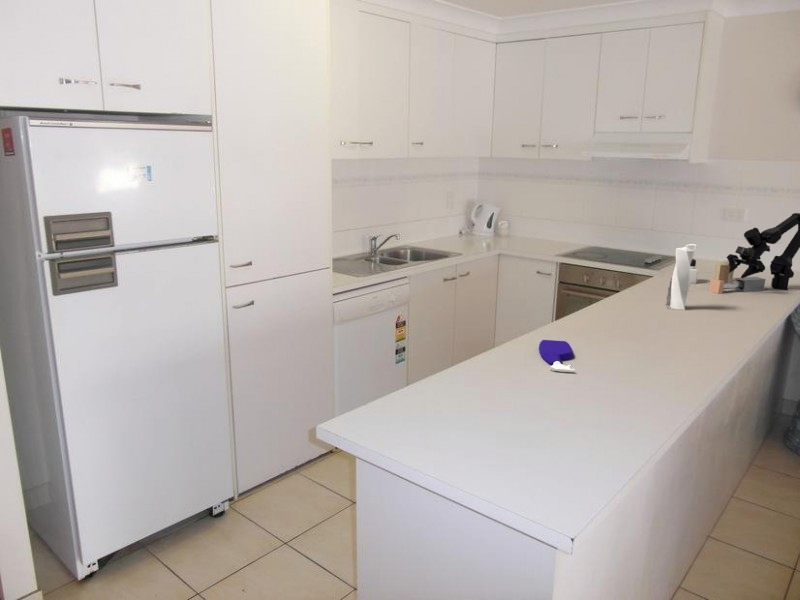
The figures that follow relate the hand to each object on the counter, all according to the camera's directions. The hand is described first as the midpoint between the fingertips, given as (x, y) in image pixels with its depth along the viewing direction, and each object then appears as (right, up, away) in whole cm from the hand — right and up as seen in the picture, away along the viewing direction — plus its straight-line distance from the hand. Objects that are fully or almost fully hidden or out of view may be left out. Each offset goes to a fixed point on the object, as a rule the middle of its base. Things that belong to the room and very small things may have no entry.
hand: (733, 275), depth 298 cm
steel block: (+10, -7, +5) cm, 13 cm away
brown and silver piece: (-1, -6, +1) cm, 7 cm away
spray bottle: (-109, -31, -98) cm, 150 cm away
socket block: (-9, -8, -1) cm, 12 cm away
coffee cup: (+7, -2, +23) cm, 24 cm away
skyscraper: (-41, -16, -31) cm, 54 cm away
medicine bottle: (-13, -3, +20) cm, 25 cm away
